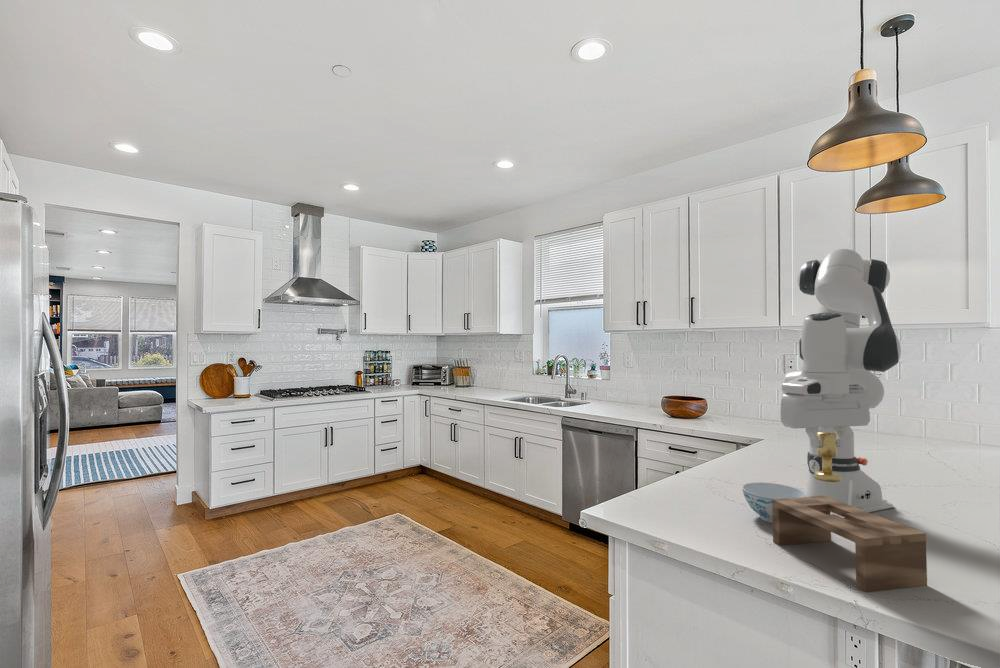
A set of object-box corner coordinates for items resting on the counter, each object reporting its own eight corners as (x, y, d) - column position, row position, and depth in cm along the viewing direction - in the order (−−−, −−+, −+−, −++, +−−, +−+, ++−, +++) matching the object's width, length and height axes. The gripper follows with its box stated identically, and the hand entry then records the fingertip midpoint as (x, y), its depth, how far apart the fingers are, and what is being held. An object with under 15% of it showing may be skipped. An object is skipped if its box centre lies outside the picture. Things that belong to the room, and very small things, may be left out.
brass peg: (827, 475, 111) (826, 430, 112) (845, 481, 107) (844, 434, 107) (809, 476, 111) (808, 431, 111) (827, 482, 106) (825, 435, 106)
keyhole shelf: (773, 541, 115) (772, 499, 116) (824, 537, 118) (823, 495, 118) (865, 592, 92) (864, 538, 92) (927, 585, 94) (925, 533, 95)
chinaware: (732, 509, 138) (732, 482, 138) (786, 509, 137) (786, 482, 138) (759, 529, 123) (758, 499, 123) (820, 530, 122) (819, 499, 123)
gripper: (852, 383, 114) (853, 442, 114) (775, 384, 111) (776, 446, 110) (877, 385, 108) (878, 447, 108) (796, 387, 104) (798, 451, 104)
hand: (826, 446), depth 109 cm, fingers closed on brass peg, 4 cm apart
